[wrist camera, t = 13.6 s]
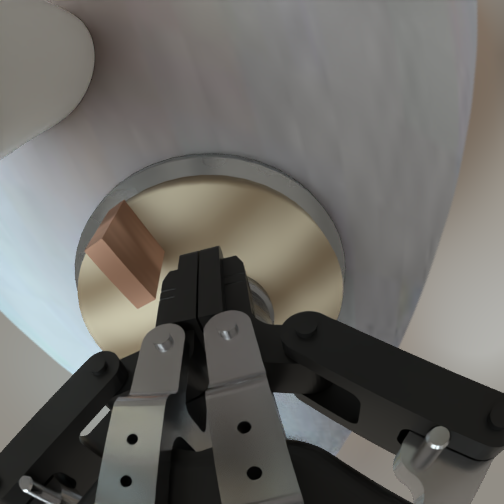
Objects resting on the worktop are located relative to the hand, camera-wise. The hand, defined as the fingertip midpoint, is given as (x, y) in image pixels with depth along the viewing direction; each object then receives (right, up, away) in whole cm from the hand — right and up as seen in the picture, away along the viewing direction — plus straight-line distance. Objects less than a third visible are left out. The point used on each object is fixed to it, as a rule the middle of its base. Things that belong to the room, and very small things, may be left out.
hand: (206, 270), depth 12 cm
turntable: (-2, -3, +12) cm, 12 cm away
